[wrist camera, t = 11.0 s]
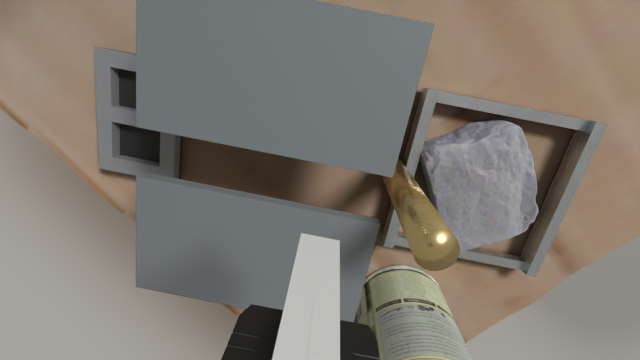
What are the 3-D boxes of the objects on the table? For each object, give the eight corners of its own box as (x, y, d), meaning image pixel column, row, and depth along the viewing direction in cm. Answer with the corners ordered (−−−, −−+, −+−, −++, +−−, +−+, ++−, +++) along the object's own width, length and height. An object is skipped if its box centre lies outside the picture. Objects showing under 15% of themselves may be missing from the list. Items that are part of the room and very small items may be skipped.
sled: (399, 83, 30) (462, 90, 14) (590, 120, 30) (869, 169, 14) (361, 233, 35) (377, 361, 19) (525, 265, 35) (676, 421, 19)
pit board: (105, 48, 31) (94, 46, 30) (185, 64, 31) (178, 63, 30) (108, 164, 35) (98, 168, 33) (180, 178, 35) (173, 183, 33)
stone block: (496, 108, 32) (404, 145, 32) (533, 110, 27) (427, 154, 27) (516, 210, 35) (434, 244, 35) (553, 227, 31) (458, 267, 31)
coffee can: (453, 324, 38) (512, 456, 25) (371, 344, 40) (385, 478, 27) (430, 252, 36) (482, 358, 22) (343, 277, 37) (343, 390, 24)
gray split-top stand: (209, 5, 29) (136, -34, 19) (401, 42, 29) (434, 23, 19) (194, 226, 37) (136, 286, 26) (348, 257, 36) (351, 330, 26)
